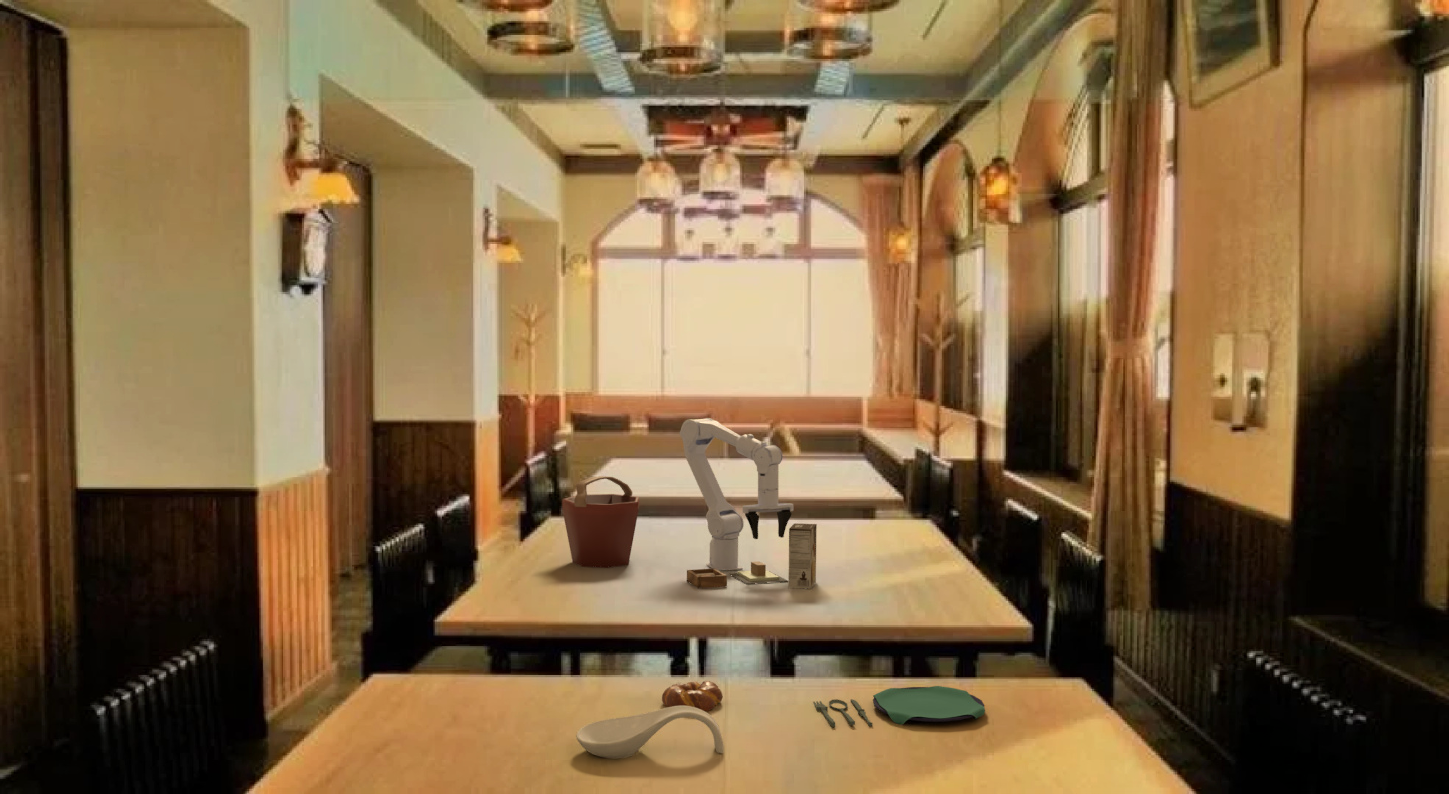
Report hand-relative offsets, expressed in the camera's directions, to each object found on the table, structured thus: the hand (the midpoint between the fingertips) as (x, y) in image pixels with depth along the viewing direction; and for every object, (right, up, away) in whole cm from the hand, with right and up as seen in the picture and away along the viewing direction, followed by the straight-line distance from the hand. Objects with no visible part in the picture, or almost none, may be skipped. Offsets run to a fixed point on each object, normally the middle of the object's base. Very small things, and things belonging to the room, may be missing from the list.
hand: (768, 537), depth 340 cm
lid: (-3, -10, -4) cm, 11 cm away
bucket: (-49, -9, +17) cm, 52 cm away
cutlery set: (+19, -18, -121) cm, 123 cm away
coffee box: (+9, -12, -13) cm, 19 cm away
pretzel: (-18, -17, -117) cm, 120 cm away
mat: (-3, -11, -4) cm, 12 cm away
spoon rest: (-24, -18, -143) cm, 146 cm away
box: (-17, -11, -12) cm, 24 cm away
